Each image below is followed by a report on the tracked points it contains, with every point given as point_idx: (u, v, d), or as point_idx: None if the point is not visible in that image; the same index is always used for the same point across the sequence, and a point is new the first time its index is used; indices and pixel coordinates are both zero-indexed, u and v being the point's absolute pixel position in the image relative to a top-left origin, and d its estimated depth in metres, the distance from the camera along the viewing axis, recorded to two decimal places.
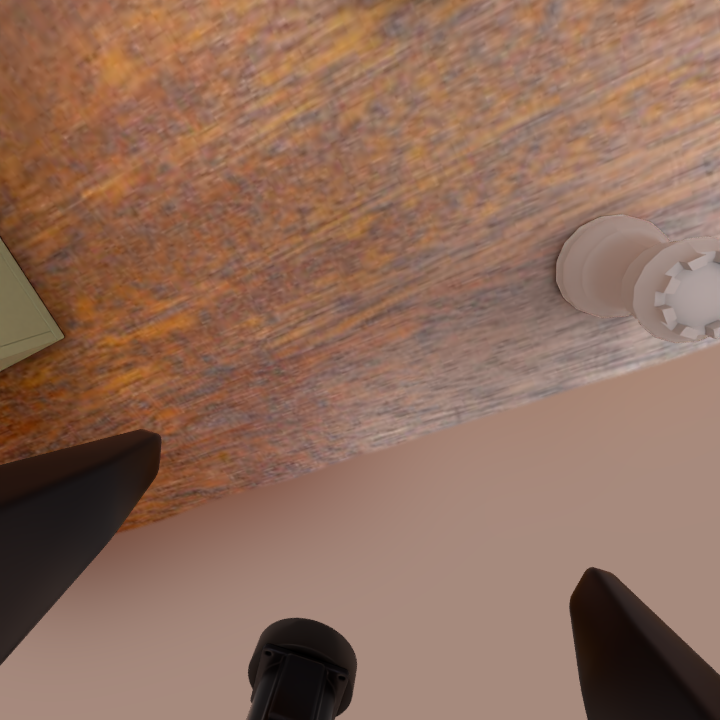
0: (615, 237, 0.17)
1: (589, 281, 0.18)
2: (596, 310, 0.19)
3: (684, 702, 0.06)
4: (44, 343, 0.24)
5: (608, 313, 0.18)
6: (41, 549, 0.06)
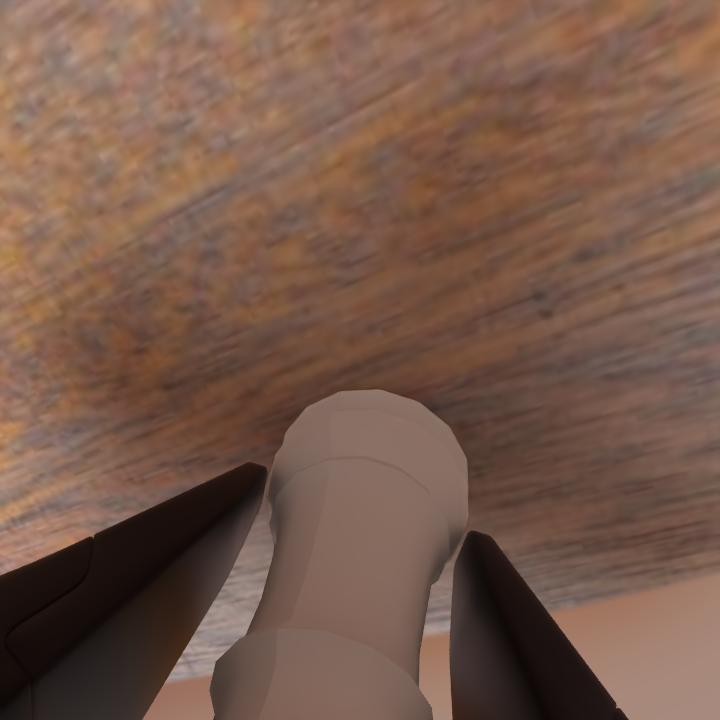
0: (315, 476, 0.08)
1: None
2: None
3: (507, 645, 0.06)
4: None
5: None
6: (186, 597, 0.06)
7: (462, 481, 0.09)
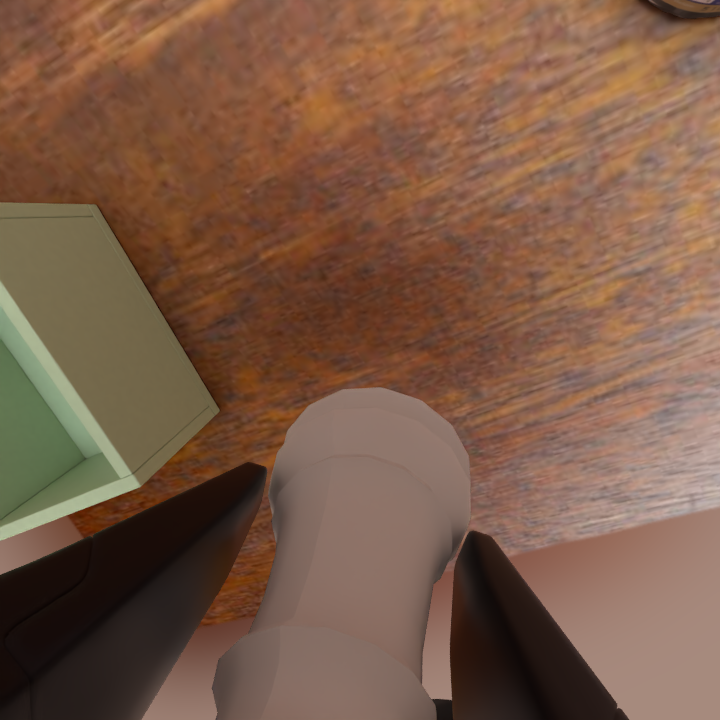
0: (317, 475, 0.08)
1: None
2: None
3: (508, 646, 0.06)
4: (206, 422, 0.21)
5: None
6: (185, 597, 0.06)
7: (465, 479, 0.08)
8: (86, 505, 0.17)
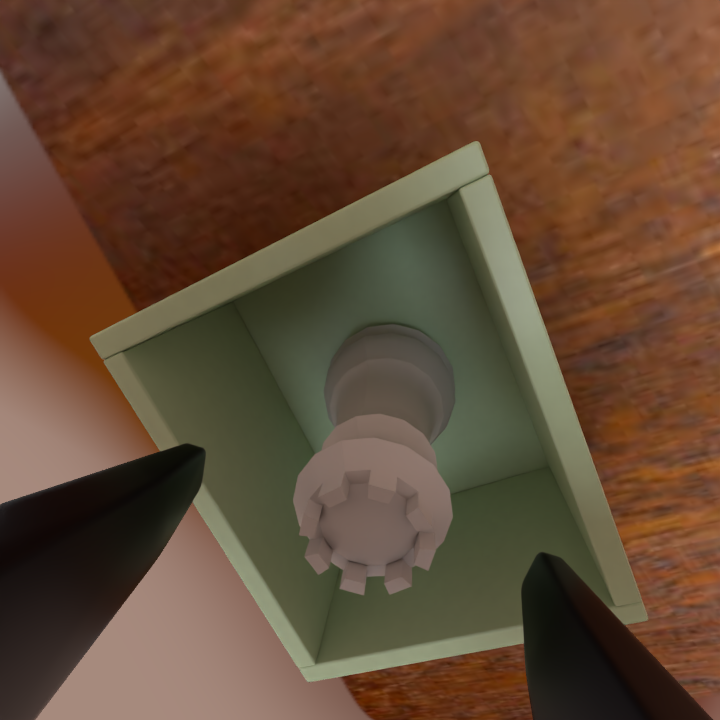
0: (359, 371, 0.13)
1: None
2: None
3: (610, 678, 0.06)
4: None
5: None
6: (102, 569, 0.06)
7: (449, 375, 0.13)
8: None
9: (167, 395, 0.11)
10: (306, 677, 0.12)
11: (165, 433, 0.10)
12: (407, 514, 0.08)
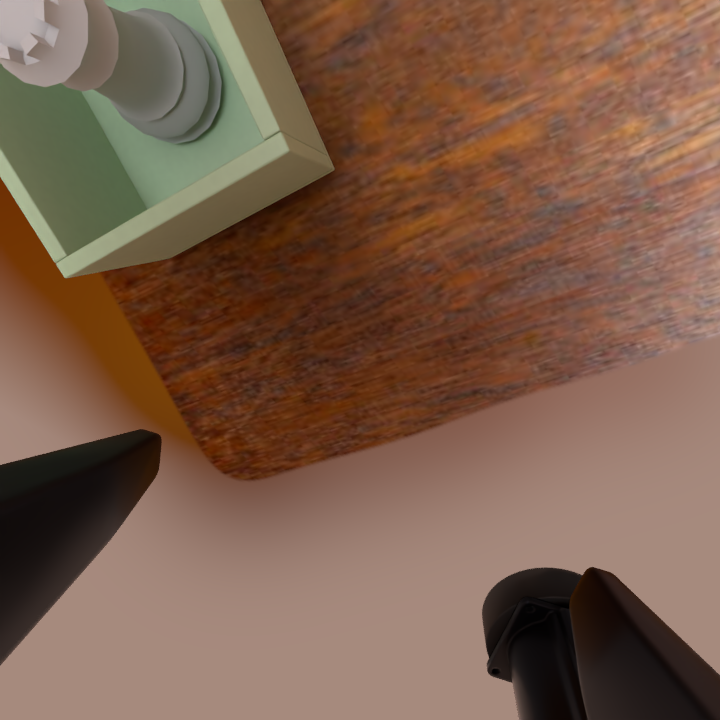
0: None
1: None
2: (139, 124, 0.17)
3: (684, 702, 0.06)
4: (327, 166, 0.17)
5: (151, 126, 0.17)
6: (41, 549, 0.06)
7: (198, 45, 0.16)
8: (212, 190, 0.13)
9: None
10: (62, 271, 0.15)
11: None
12: None
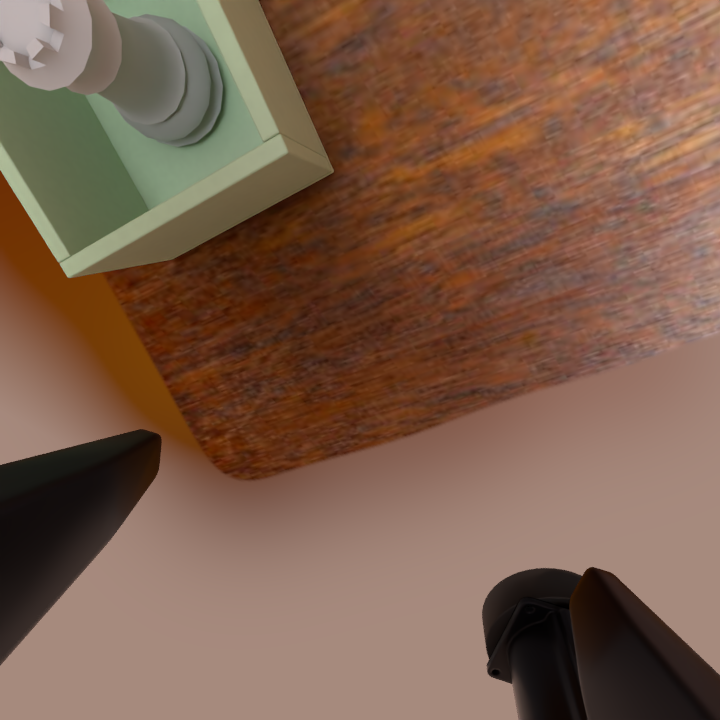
0: None
1: None
2: (142, 127, 0.17)
3: (684, 702, 0.06)
4: (326, 168, 0.18)
5: (154, 129, 0.17)
6: (41, 549, 0.06)
7: (200, 50, 0.16)
8: (212, 191, 0.13)
9: None
10: (65, 271, 0.15)
11: None
12: None
